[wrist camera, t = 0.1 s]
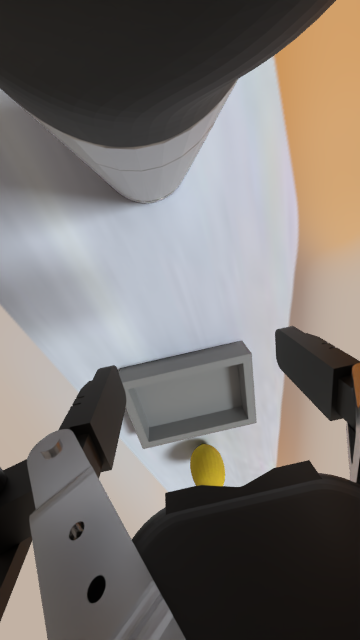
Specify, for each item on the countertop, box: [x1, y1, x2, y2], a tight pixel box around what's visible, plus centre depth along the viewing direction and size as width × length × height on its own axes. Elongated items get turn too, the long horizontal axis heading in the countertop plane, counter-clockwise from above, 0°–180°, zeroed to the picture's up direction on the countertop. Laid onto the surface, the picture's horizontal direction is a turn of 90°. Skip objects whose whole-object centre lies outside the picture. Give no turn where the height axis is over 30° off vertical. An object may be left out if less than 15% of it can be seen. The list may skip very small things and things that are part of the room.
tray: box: [119, 341, 256, 449], centre depth 32 cm, size 13×18×3 cm
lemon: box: [190, 444, 225, 486], centre depth 35 cm, size 6×6×8 cm
